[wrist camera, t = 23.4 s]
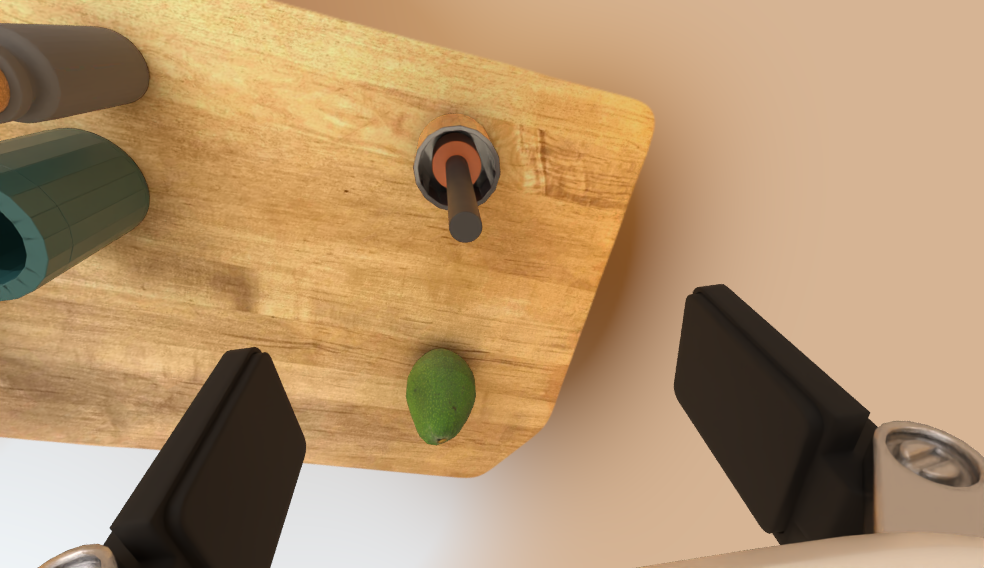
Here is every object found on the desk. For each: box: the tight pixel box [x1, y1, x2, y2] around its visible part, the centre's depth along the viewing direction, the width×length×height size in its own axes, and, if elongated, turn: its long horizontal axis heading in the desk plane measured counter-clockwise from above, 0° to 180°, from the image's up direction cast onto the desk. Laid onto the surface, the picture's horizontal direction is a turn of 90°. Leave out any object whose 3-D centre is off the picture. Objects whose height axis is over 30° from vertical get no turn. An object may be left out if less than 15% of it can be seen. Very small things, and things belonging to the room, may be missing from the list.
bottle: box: [0, 23, 149, 124], centre depth 31 cm, size 6×6×15 cm
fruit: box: [406, 348, 476, 445], centre depth 51 cm, size 8×8×12 cm
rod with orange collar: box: [432, 133, 482, 243], centre depth 36 cm, size 4×4×19 cm
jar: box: [0, 128, 149, 301], centre depth 36 cm, size 10×10×13 cm
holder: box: [413, 113, 500, 210], centre depth 41 cm, size 7×7×7 cm
